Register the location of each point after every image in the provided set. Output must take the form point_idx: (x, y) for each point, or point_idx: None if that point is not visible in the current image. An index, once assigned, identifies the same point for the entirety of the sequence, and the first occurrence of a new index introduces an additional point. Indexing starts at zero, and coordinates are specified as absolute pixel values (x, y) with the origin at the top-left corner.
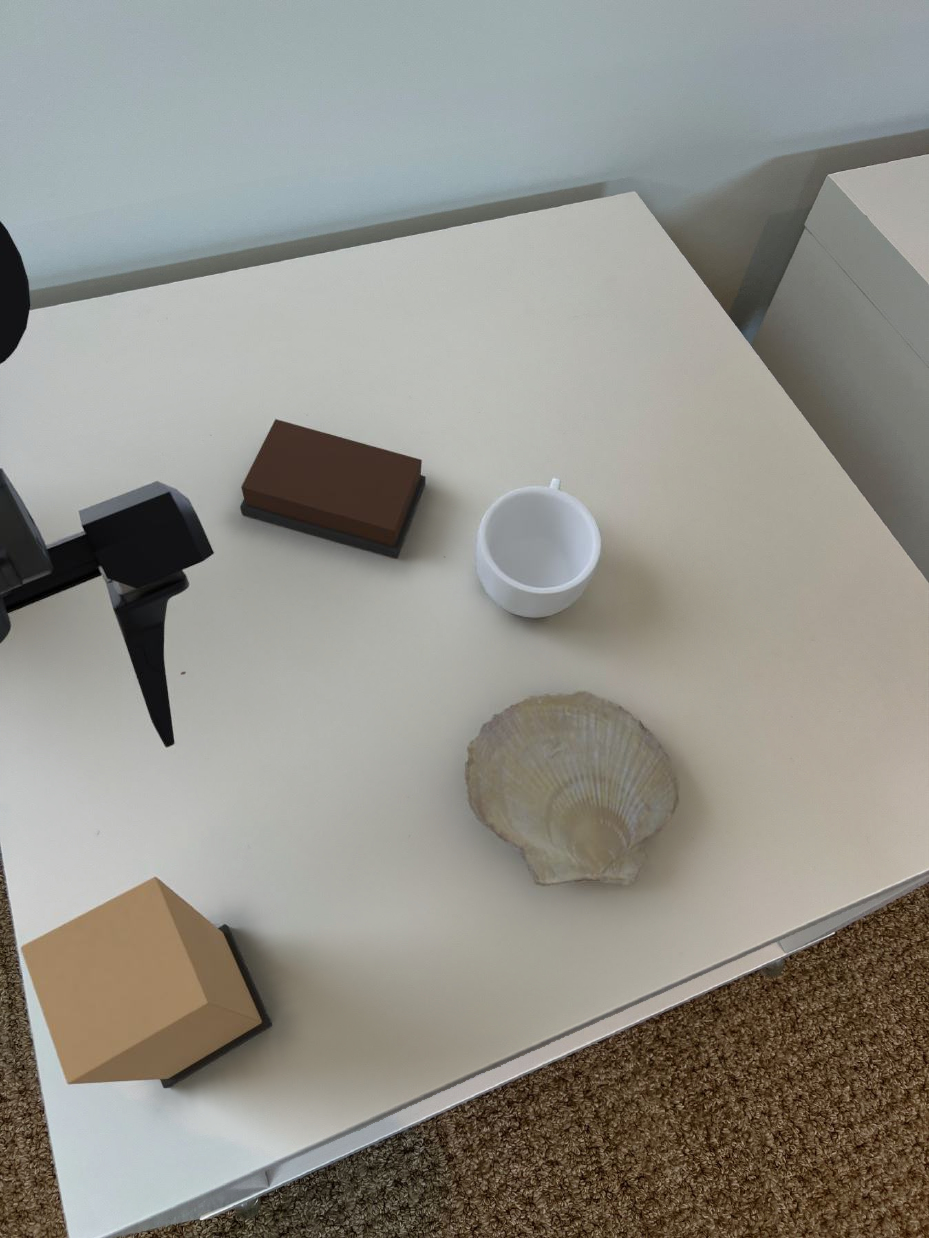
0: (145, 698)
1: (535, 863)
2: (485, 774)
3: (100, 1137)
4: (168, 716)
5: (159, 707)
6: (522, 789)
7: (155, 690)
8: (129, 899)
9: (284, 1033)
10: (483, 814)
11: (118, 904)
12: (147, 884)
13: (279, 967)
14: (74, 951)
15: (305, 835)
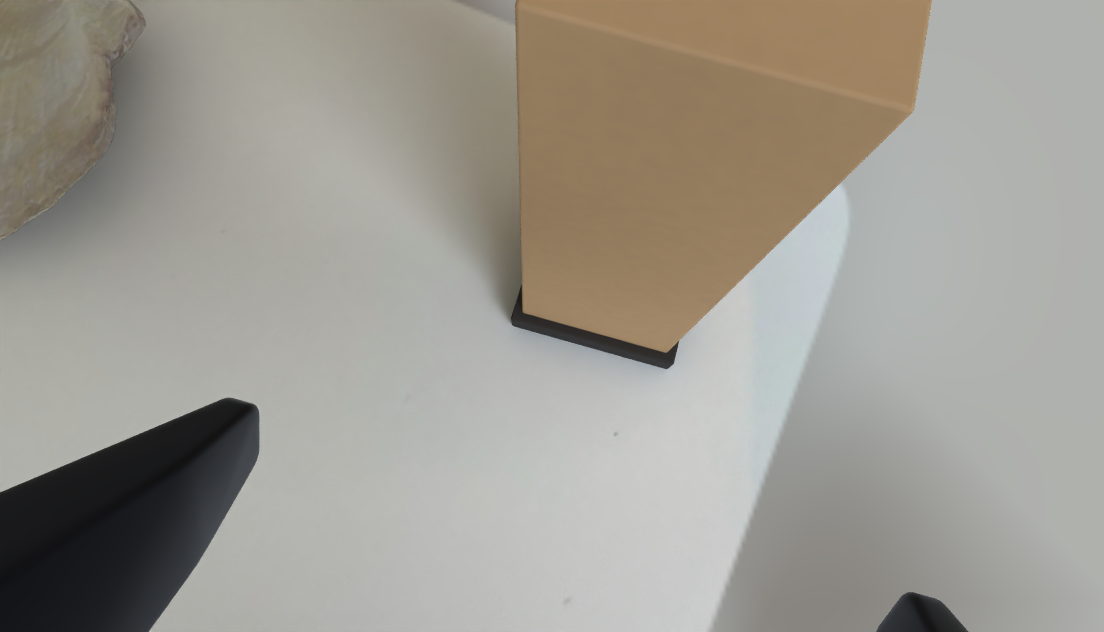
0: (97, 513)
1: (115, 32)
2: (34, 173)
3: (798, 241)
4: (139, 439)
5: (113, 467)
6: (16, 111)
7: (40, 510)
8: (610, 4)
9: None
10: (94, 127)
11: (641, 15)
12: (547, 2)
13: (498, 231)
14: (802, 5)
15: (332, 347)
